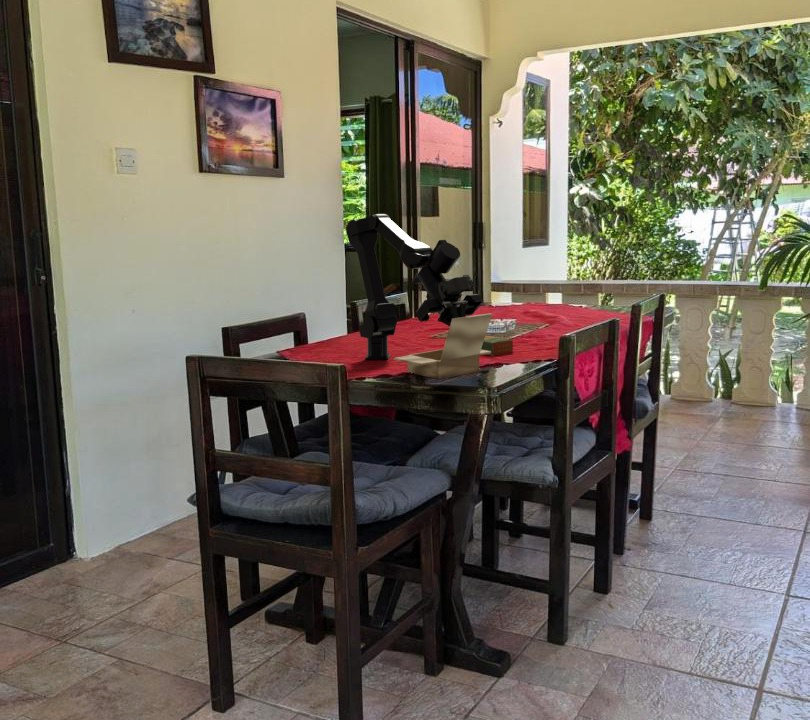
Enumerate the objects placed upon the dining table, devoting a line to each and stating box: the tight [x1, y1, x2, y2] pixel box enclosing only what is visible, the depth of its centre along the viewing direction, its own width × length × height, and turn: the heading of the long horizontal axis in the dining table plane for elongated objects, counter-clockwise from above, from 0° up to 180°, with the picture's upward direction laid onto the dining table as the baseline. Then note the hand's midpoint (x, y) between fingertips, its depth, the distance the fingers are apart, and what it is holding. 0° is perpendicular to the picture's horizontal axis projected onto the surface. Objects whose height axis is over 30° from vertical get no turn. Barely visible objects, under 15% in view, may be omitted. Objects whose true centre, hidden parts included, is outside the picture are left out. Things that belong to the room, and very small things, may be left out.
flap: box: [440, 312, 493, 361], centre depth 208 cm, size 12×13×1 cm
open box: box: [393, 348, 491, 380], centre depth 216 cm, size 12×24×4 cm, turn 130°
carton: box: [481, 334, 514, 357], centre depth 246 cm, size 8×16×4 cm, turn 37°
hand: (466, 333), depth 208 cm, fingers closed, pressing on flap
